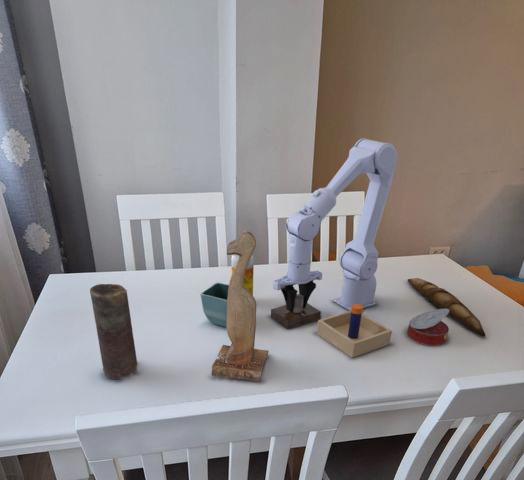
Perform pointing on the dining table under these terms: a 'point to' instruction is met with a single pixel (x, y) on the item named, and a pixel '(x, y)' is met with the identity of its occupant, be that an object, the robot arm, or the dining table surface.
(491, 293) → the dining table surface
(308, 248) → the robot arm
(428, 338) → the canned food
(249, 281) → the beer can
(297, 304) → the grey dial knob
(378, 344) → the open wooden box
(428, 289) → the bread
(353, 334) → the marker
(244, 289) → the bird sculpture
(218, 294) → the flower pot
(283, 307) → the block
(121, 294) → the candle
